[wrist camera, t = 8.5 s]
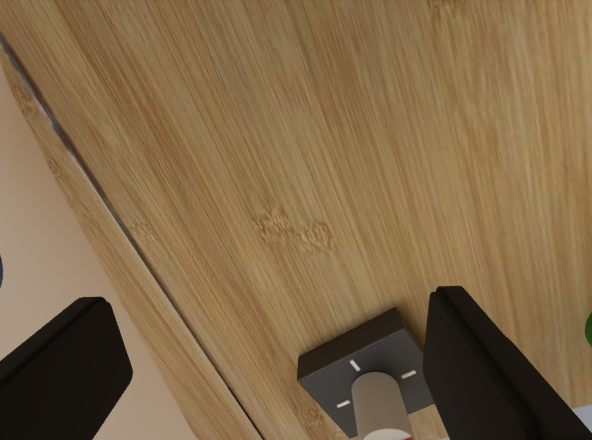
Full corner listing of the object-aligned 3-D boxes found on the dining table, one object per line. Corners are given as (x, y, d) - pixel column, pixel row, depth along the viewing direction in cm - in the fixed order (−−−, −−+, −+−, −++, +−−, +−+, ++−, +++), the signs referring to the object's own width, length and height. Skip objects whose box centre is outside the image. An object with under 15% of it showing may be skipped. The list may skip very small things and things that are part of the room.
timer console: (346, 412, 35) (350, 440, 32) (297, 357, 32) (296, 382, 29) (441, 371, 32) (454, 397, 29) (395, 307, 29) (404, 328, 26)
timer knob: (366, 411, 30) (378, 477, 25) (342, 383, 29) (349, 446, 24) (406, 394, 29) (428, 458, 24) (383, 364, 28) (400, 425, 23)
